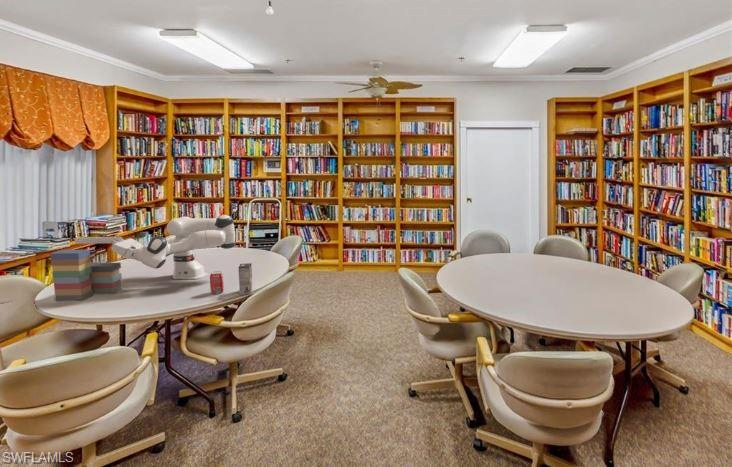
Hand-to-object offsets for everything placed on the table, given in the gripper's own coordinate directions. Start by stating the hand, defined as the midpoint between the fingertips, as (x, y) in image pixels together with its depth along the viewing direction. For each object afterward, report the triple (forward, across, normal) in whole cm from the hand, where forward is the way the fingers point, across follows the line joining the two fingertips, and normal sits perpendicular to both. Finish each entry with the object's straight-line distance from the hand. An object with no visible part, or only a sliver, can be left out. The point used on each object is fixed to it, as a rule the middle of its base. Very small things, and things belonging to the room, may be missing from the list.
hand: (113, 239), depth 230 cm
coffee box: (-80, +6, -10) cm, 80 cm away
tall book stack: (-1, +12, +35) cm, 37 cm away
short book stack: (-8, 0, +30) cm, 31 cm away
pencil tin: (+6, 0, +6) cm, 8 cm away
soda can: (-66, +6, -2) cm, 66 cm away
